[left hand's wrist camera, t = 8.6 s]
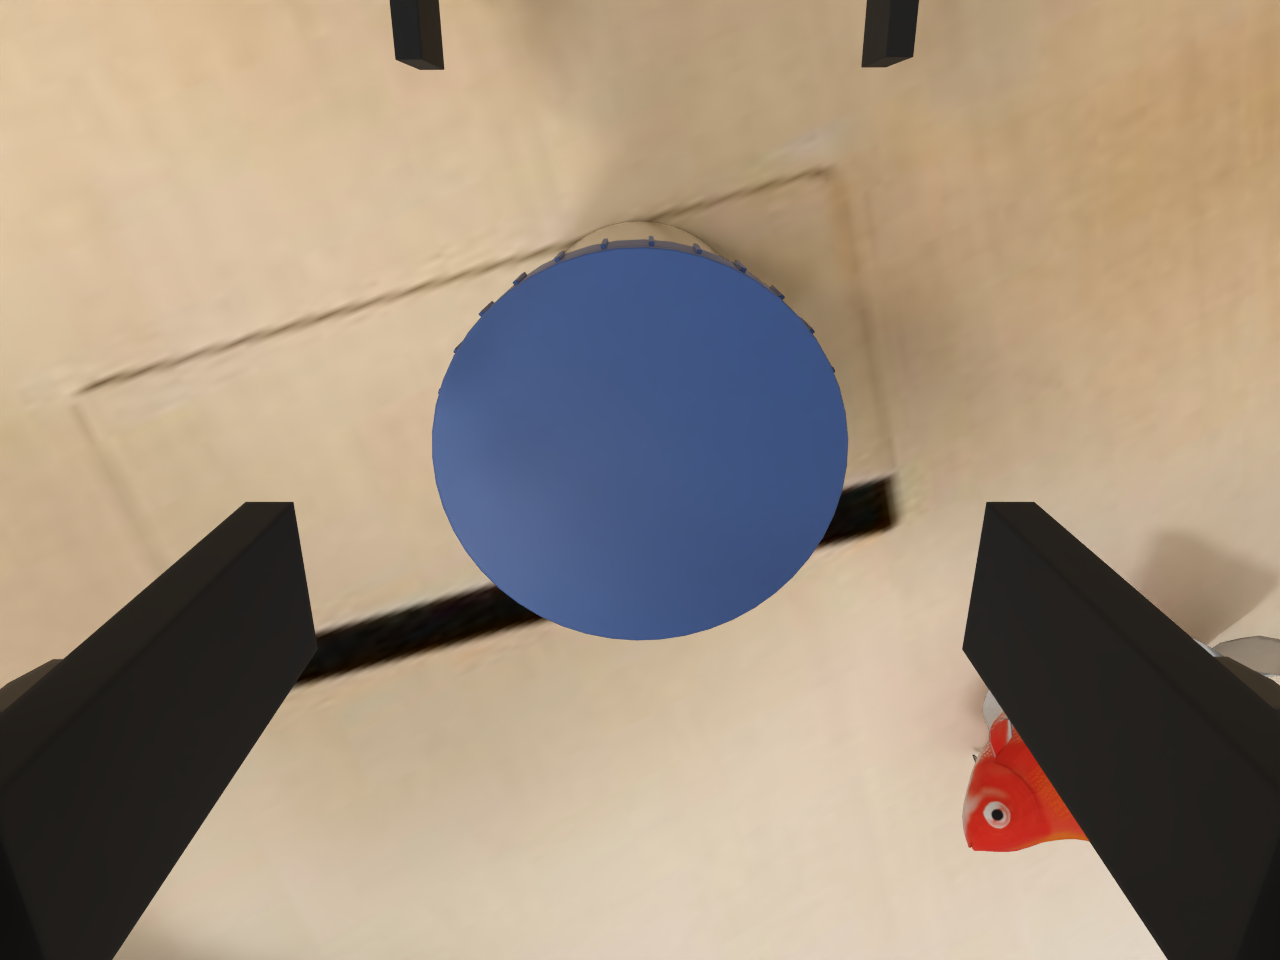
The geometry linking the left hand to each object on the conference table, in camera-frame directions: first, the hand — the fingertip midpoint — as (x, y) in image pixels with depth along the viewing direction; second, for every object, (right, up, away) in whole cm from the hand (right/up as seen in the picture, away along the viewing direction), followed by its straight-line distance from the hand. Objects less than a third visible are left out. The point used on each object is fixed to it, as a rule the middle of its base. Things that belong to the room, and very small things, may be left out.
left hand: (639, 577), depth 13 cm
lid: (0, +2, +5) cm, 6 cm away
